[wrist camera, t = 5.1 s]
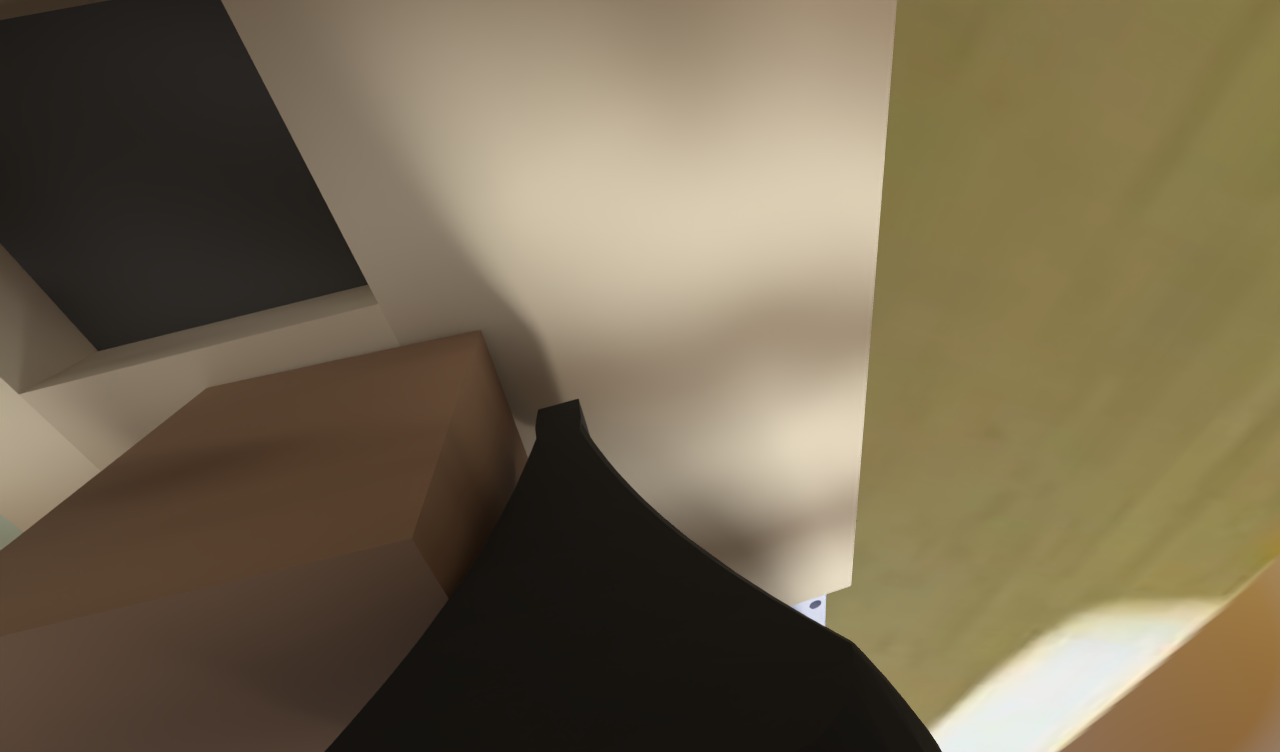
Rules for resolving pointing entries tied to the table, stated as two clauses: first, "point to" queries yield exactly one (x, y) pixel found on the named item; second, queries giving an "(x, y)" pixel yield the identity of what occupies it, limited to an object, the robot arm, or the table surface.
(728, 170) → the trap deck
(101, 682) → the walnut block
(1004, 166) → the table surface
